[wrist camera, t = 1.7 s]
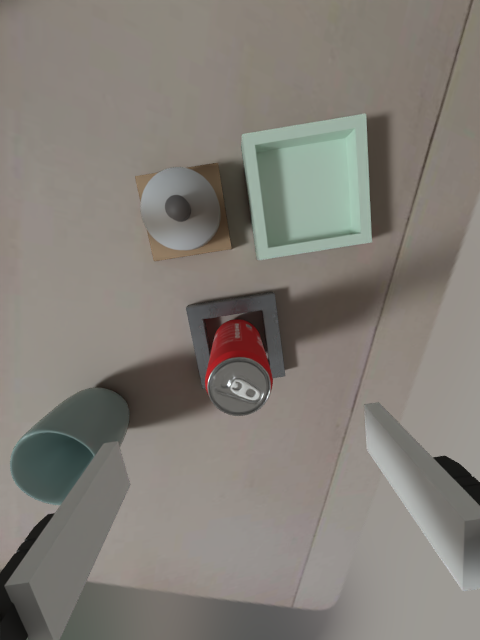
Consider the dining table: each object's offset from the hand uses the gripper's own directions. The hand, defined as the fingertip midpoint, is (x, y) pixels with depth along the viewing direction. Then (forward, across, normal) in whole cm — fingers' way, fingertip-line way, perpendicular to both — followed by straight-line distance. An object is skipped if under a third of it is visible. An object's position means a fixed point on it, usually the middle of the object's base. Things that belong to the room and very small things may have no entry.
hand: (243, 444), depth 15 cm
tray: (+18, +9, +14) cm, 25 cm away
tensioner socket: (+18, 0, 0) cm, 18 cm away
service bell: (+18, -3, +14) cm, 23 cm away
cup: (+18, -17, -6) cm, 26 cm away
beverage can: (+18, 0, 0) cm, 18 cm away
